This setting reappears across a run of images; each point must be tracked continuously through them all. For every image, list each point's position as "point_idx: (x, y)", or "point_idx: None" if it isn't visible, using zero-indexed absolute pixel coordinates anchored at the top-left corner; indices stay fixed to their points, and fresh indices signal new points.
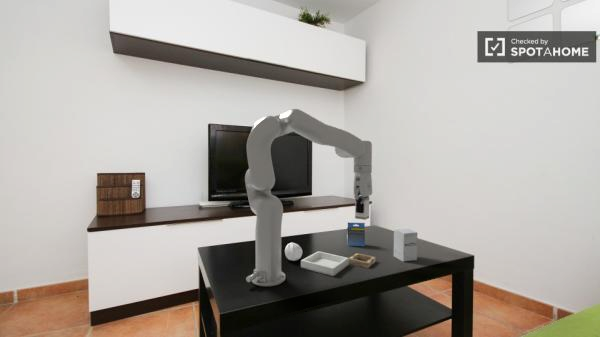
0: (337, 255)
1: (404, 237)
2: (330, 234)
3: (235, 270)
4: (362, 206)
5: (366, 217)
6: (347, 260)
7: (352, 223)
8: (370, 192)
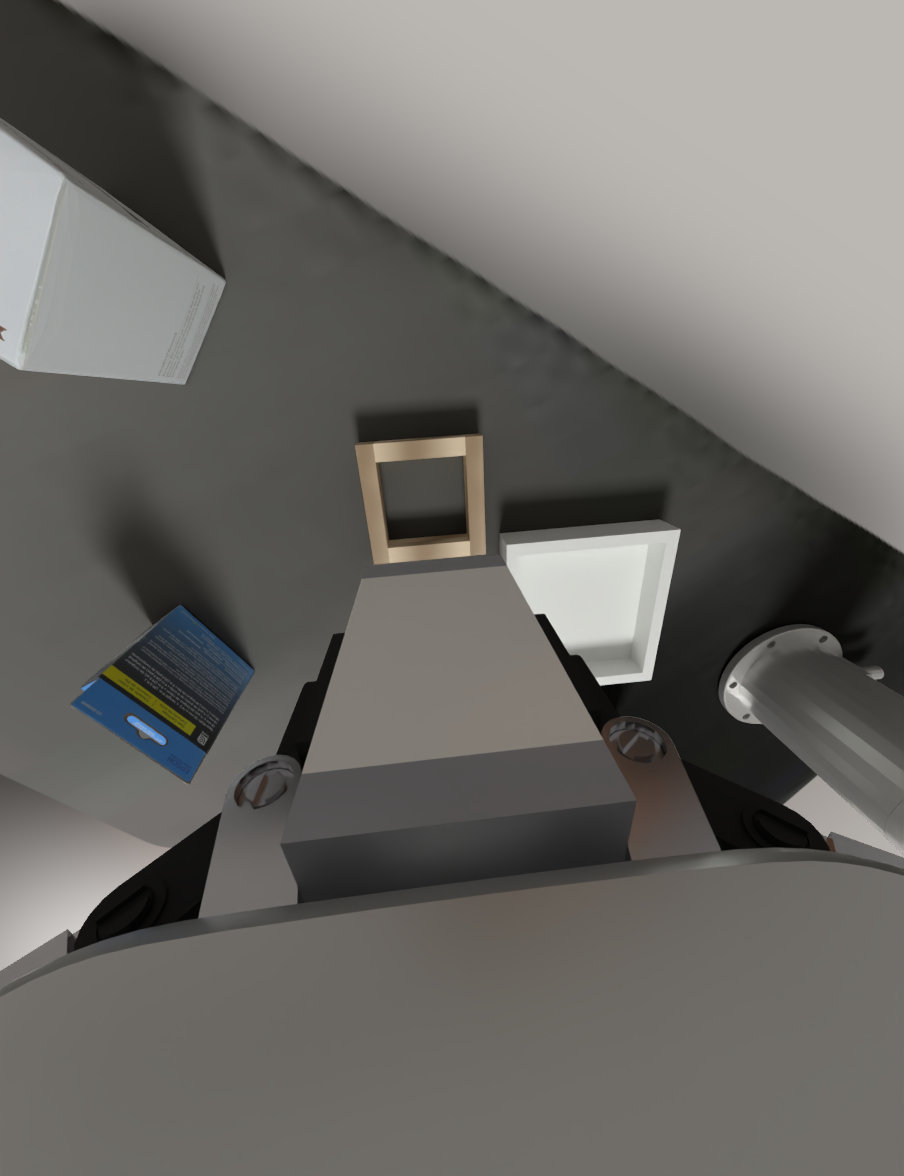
0: None
1: (94, 193)
2: (170, 812)
3: (747, 774)
4: (579, 684)
5: (462, 565)
6: (520, 540)
7: (163, 758)
8: (178, 1108)
